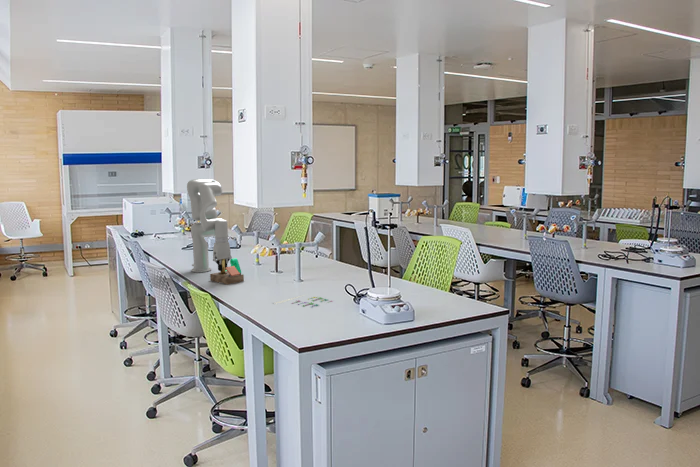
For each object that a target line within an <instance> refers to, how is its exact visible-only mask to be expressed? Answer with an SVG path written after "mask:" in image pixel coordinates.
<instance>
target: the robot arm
mask: <svg viewBox="0 0 700 467" xmlns="http://www.w3.org/2000/svg"><path fill="white" fill-rule="evenodd" d="M186 191H187V194H188V196H189V199H190V207H191V208H190V209H191V218H192V220H193V221H196V223H193V224H192V225H191V226H190V234H191V238H192V250H193V252H192V253H193V263H192V264H191V267H193V268H191V272H193V273H206V272H211V271H212V267H210V266H209V265H210V264H209V263H210V262H209V244H208V241H207V240H206V239H205V238H209V237H214V240H215V242H214V243H213V248H212V249H213V250H212V256H213V257H212V261H213V262H215V263H216V264H217V270H218V271H219V272H220V271H222V264H221V259H225V268H226V267H228V263H229V262H230V259H233V257H232V255H231V251H232V250H231V245H230V242H229V240H230V237H229V230H228V229H229V228H228V226H229V225H228V224H229V223H228V221H227V219H224V218H220V217H219V218H218V213H217V212H218V211H217V208H216V207H217V206H218V202H217V199H216V197H220V196H221V195H222V193H223V187H222V185H221V184H220V183H219V181H217V180H215V179H212V178H205V179H204V178H203V179H202V178H199V179H198V178H196V179H191V180H189V181H187V184H186ZM198 221H199V222H198ZM225 270H226V269H225Z"/></svg>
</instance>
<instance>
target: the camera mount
mask: <svg viewBox="0 0 700 467" xmlns="http://www.w3.org/2000/svg"><path fill="white" fill-rule="evenodd" d="M229 263H230V266H235V268H236V269H237V270H238V272H239V273H241V274H242V269H241V267H240V264H239V260H238V258H237V257H235V258H233V257H232V258H231V259H230V260H229ZM225 271H227V270H225Z"/></svg>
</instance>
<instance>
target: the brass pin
mask: <svg viewBox="0 0 700 467" xmlns="http://www.w3.org/2000/svg"><path fill="white" fill-rule="evenodd" d="M221 264H222V271H219V272H220V274H226V273H225V259H221Z"/></svg>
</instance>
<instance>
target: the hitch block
mask: <svg viewBox="0 0 700 467" xmlns="http://www.w3.org/2000/svg"><path fill="white" fill-rule="evenodd" d="M225 273H226V274H220V271H219V272H215V273H210V274H209V277H210V278H209V281H211V282H216V283H219V282H220V284H223V283H224V285H230V284H231V283H232V284H236V283H242V282H244V281H245V280H244V279H245V277H244V276H245V275H244V274H243V273H242V272H241V273H240V275H236V276H231V275H230V274H229V273H228V272H227V271H225Z"/></svg>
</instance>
